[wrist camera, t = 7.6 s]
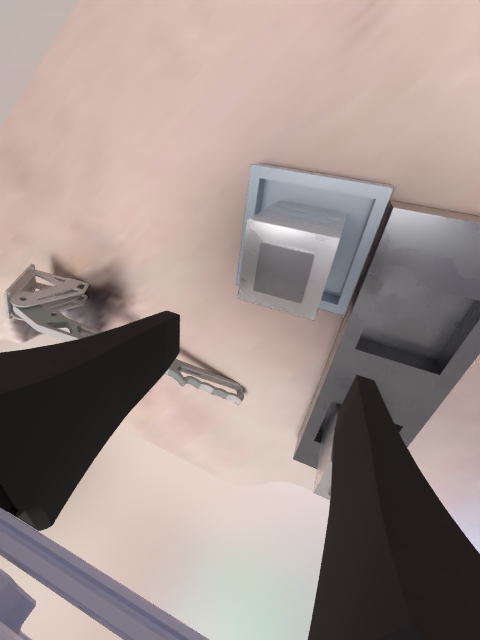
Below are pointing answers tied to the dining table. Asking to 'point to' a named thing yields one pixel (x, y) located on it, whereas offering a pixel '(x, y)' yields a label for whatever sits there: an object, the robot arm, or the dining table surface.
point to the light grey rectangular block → (289, 257)
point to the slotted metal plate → (406, 321)
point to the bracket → (38, 315)
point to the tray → (328, 193)
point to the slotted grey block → (326, 455)
